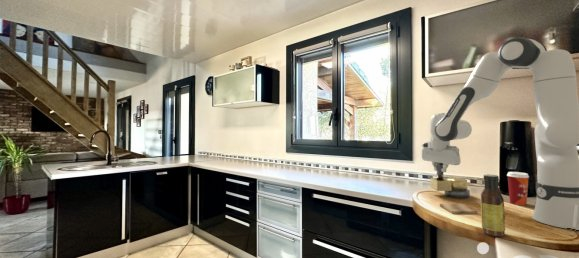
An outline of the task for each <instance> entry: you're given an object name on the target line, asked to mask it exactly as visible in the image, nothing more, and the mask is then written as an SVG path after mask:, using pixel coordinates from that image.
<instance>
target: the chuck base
mask: <svg viewBox="0 0 579 258" xmlns="http://www.w3.org/2000/svg"><path fill="white" fill-rule="evenodd" d="M443 193H444V196H446V197H450V198H455V199H469V198H470V197H471V191H470V189H468V188H467V191H453V190H452V191H443Z"/></svg>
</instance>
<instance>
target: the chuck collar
mask: <svg viewBox="0 0 579 258" xmlns="http://www.w3.org/2000/svg"><path fill="white" fill-rule="evenodd" d="M429 180H430V181H429V182H430V183H429V184H430V188H431V189H433V190H435V191H437V192H444V191H452V190H453V191H467V189H468V179H466V178H462V177H446V178H445V177H443V180H437V177H430V179H429Z"/></svg>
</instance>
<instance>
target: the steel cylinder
mask: <svg viewBox="0 0 579 258" xmlns="http://www.w3.org/2000/svg"><path fill="white" fill-rule="evenodd" d="M443 167H444V166H443V163H438V162H437V171H436V178H437V180H443V178H444V172H441V168H443Z"/></svg>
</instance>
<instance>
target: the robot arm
mask: <svg viewBox="0 0 579 258" xmlns="http://www.w3.org/2000/svg"><path fill="white" fill-rule="evenodd" d="M476 63H477V64H476V65H475V67H474V69H473V70H472V72H471V73H470V76H469V77H468V78H467V81H466V83H465V84H464V86H463V88H461V90H460V91H459V93H458V94H457V95H456V97H455V98H454V99H453V102H452V103H451V104H450V106H449V108H448V109H447V111H446V112H444V113H443V112H442V113H436V114H433V115H432V116H431V117H430V121H429V131H430V138H429V141H427V142H423V143H421V147H422V148H421V159H422V161H427V162H431V165H432V167H433V170H434V171H436V172H437V162H438V163H443V168H441V172H443V173H447V169H448V167H449V165H451V166H459V165H460V164H461V156H460V148H458V147H457V146H456V145H451V141H454V140H463V139H466V138H468V137H470V135H471V134H472V126H471V124H470V122H468V121H467V120H464V119H462V117H464V115H465V113H466V111H467V109H469V107H470V106H471V105H473V104H474V103H475V102H478V101H480V100H482V99H484V98H487V97H489V96H490V95H492V93H493V92H494V91H495V90H496V88H497V87H498V86H499V84H500V82H501V80H502V79H503V76H504V75H505V74H506V72H507V71H509V70H511V69H512V70H527V69H530V71H531V73H532V81H533V82H532V83H533V96H534V99H533V100H534V106H535V110H536V116H537V124H536V126H535V127H534V143H535V144H534V145H535V154H536V155H535V156H536V169H537V170H536V171H537V173H536V176H537V177H536V179H537V181H536V182H535V192H536V198H535V204H534V205H535V206H534V210H533V213H532V215H531V217H532V219H533V220H534V221H537V222H538V223H541V224H546V225H548V226H551V227H557V228H562V229H567V228H572V229H577V230H579V154H578V148H577V146H578V145H579V97H578V82H577V80H578V79H577V73H576V66H575V62H574V60H573V56H572V54H571V53H570V52H569V51H568V50H565V49H561V48H559V49H549V50H547V47H546V46H545V45H544V44H543V43H540V42H538V41H537V40H535V39H531V38H527V37H521V36H520V37H514V38H510V39H507V40H506V41H504V42H503V43H502V44H501V46H500V47H499V48H498V51H491V52H487V53H485V54H484V55H483V56H482V57H481V58H480V59H479V61H478V62H476ZM572 229H571V230H572Z"/></svg>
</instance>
